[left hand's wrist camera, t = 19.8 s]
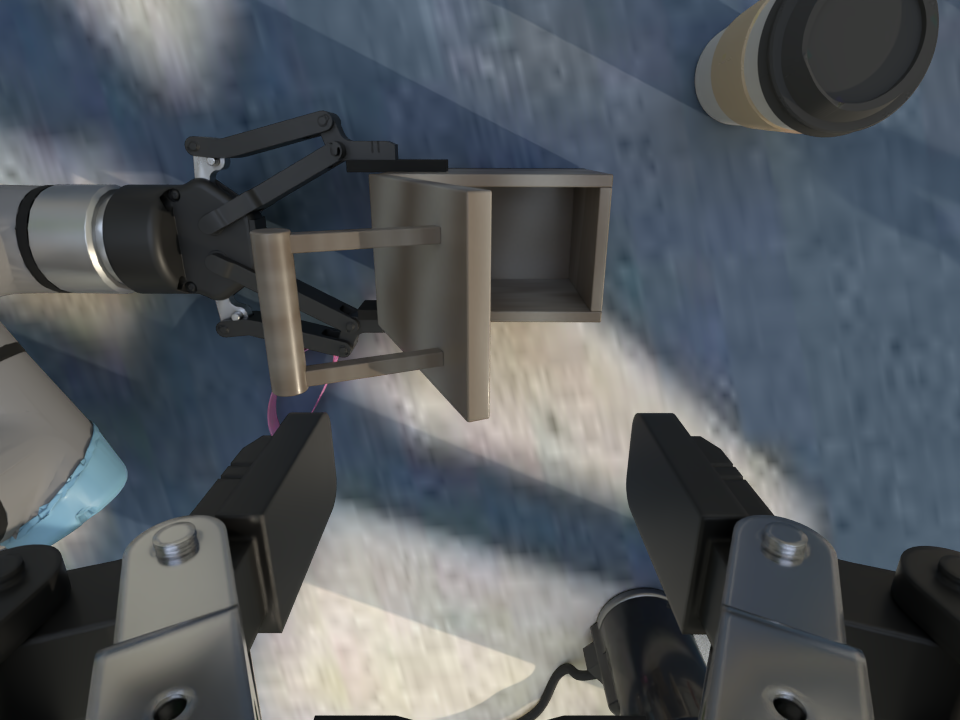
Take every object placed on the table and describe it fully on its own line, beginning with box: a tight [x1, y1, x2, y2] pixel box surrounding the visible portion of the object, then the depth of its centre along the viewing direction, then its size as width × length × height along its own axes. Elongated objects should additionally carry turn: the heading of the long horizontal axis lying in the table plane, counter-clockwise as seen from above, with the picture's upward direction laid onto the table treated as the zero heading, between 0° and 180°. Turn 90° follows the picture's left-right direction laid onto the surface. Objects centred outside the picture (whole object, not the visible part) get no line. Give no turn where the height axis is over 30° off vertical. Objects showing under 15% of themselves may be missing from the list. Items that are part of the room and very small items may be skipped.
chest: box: [380, 168, 613, 322], centre depth 41 cm, size 14×9×11 cm, turn 90°
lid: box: [250, 174, 492, 422], centre depth 27 cm, size 15×9×8 cm
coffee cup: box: [695, 0, 939, 137], centre depth 34 cm, size 9×9×15 cm
